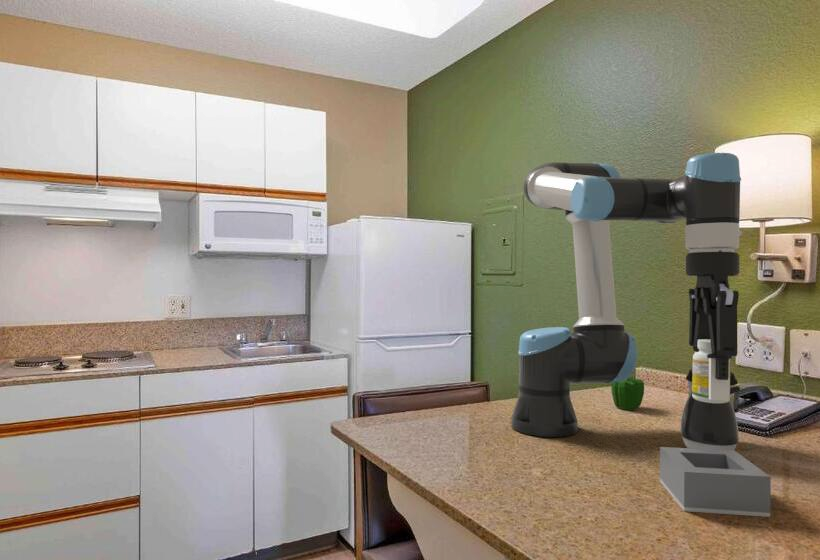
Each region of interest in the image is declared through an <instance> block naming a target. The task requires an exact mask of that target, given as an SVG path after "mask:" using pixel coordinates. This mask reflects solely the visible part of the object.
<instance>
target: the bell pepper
mask: <svg viewBox="0 0 820 560" xmlns="http://www.w3.org/2000/svg"><path fill="white" fill-rule="evenodd" d="M610 384H611V395H612V400H613V403H614V405H615V407H616V408H619V409H623V410H626V411H636V410H638V409H639V408H640V406H641V405H642V403H643V398H644V395H645V385H644V382H643V380H642V379H638V378H637V379H636V378H633V377H629V378H628V379H626V380H625V381H621V382H612V383H610Z"/></svg>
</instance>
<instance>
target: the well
mask: <svg viewBox="0 0 820 560" xmlns="http://www.w3.org/2000/svg"><path fill="white" fill-rule="evenodd" d="M659 481H660V483H661V484H662V486H663V487H664V488H665V489H666V491H667V493H669V494H670V496H671V497H672V498H673V499H674V501H675V502H676V504H678V506H679V507H680V508H681V509H682V510H683V512H689V513H691V512H692V513H693V512H694V513H707V514H720V515H734V516H735V515H736V516H752V517H764V518H770V517H771V494H772V493H771V491H772V490H771V485H772V484H771V481H772V477H771V475H769V474H767V473H766V472H765V471H763V470H762V469H760V468H759V467H758V466H757V465H755V464H754V463H752V462H751V461H750V460H748V459H747V458H745V457H744V456H743V455H741V454H740V453H738V452H737V451H736V450H734V451H733V450H713V449H693V448H687V447H669V446H668V447H667V446H659Z"/></svg>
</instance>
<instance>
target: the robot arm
mask: <svg viewBox="0 0 820 560" xmlns="http://www.w3.org/2000/svg"><path fill="white" fill-rule="evenodd" d="M740 171H741V169H740V160H739V156H737V155H735V154H734V153H729V152H711V153H704V154H697V155H694V156H692V157H690V158H689V159H688V161H687V163H686V168H685V172H684V176H680V177H675V178H649V177H647V178H646V177H645V178H639V177H634V178H630V177H628V178H627V177H621V174H620V173H619V171H618V170H617V168H616V167H614V166H612V165H611V164H608V163H600V162H591V163H590V162H560V161H559V162H558V161H557V162H556V161H554V162H548V163H547V162H546V163H544V164H541V165H537V166H536V167H534V168H533V169H532V170H530V171H529V173H528V174H527V176H526V177H525V178H524V182H523V187H522V188H523V189H522V190H523V194H524V196H525V198H526V199H527V200H528V202H529V203H530V204H532V205H533V206H535V207H538V208H541V209H546V210H560V211H561V210H563V211H564V212H565V220H566V221H568V223H569V224H571V226H572V232H573V234H572V237H573V251H574V260H575V261H574V264H575V265H574V266H575V280H576V294H577V309H578V310H577V311H578V319H577V321H576V322H575V324H573V327H572V330H573V333H572V332H571V330H570V328H568V327H566V326H565V327H563V326H556V327H555V326H554V327H541V328H535V329H531V330H527V331H525V332H523V333H522V334H521V335H520V337H519V343H518V352H517V353H518V395H517V399H516V402H515V405H514V408H513V410H512V414H511V416H510V417H511V421H510V423H511V424H510V427H511V428H512V429H513V430H514V431H517V432H519V433H522V434H526V435H528V436H529V435H530V436H535V437H536V436H537V437H545V438H548V437H549V438H560V437H561V438H562V437H568V436H569V437H570V436H572V435H574V434H576V433H577V432H578V428H579V427H578V426H579V425H578V418H577V415H576V412H575V410H574V406H573V402H572V400H571V391H570V390H571V384H595V383H596V384H597V383H598V384H602V383H603V384H611V383H612V382H621V381H625V380H626V379H628V378H631V375H632V374H633V372H634V371H635V368H636V365H637V361H638V360H637V359H638V345H637V343H636V341H635V337H634V336H633V335H632V334H630V333H629V332H627V331H626V330H625V324H624V322H622V321H621V320H620V319H619V318H618V317H617V306H616V293H615V280H614V271H613V269H614V268H613V257H612V244H611V243H612V242H611V233H610V232H611V230H610V221H630V222H631V221H632V222H633V221H635V222H653V223H656V224H674V223H676V222H680V221H685V239H684V240H685V243H684V244H685V245H684V247H685V249H686V250H688V251H689V252H687V254H686V255H685V274H686V275H687V276H690V277H697V279H696V284H695V287H694V288H689V290H688V296H689V298H688V299H689V320H688V321H689V322H688V323H689V324H688V325H689V328H688V329H689V332H688V333H689V334H688V345H689V346H690V347H692V350H693V351H694V354H695V353H696V352H699V349H698V347H697V343H698V340H700V339H710V341H711V350H712V354H708V355H707V357H708V358H709V399H710V400H725V401H729V398H730V372H731V364H730V360H731V359H733V357H737V356H738V303H739V297H740V294H739V290H730V283H729V277H736V276H738V275H739V274H740V254H739V252H735V250H737V249H738V248H740V237H741V236H742V235H743V232H742V230H740V215H741V214H740V213H741V206H740V205H741V204H740V203H741V182H742V178H741V172H740Z"/></svg>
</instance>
